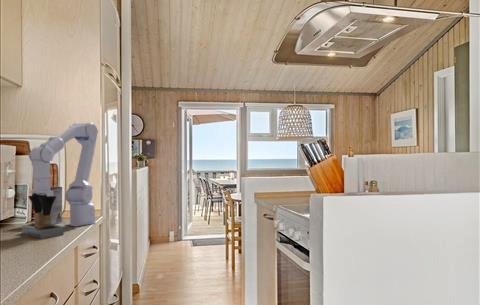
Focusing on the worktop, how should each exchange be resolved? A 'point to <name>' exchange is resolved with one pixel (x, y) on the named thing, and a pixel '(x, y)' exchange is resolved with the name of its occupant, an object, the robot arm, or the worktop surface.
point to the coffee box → (56, 206)
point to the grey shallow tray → (43, 231)
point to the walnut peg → (41, 220)
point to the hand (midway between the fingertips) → (42, 214)
